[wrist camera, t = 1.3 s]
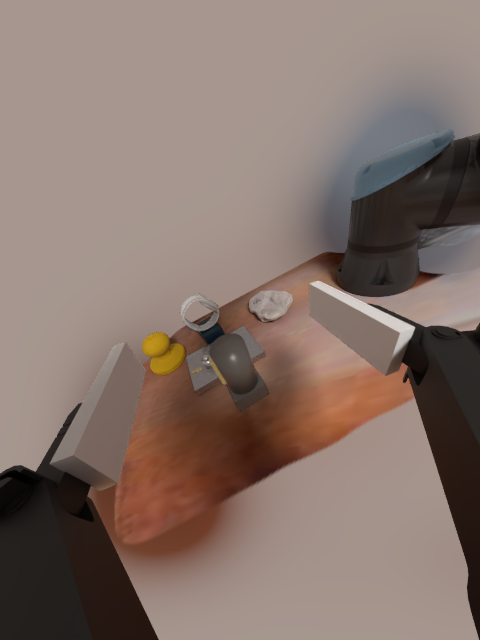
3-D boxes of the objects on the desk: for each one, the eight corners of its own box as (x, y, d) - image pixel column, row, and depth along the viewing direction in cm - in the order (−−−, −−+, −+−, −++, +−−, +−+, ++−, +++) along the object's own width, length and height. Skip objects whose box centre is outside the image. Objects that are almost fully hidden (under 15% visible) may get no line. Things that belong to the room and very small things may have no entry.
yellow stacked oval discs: (145, 372, 40) (167, 344, 45) (172, 378, 37) (192, 347, 42) (122, 351, 36) (149, 323, 41) (151, 355, 32) (176, 324, 37)
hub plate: (245, 330, 41) (241, 318, 39) (265, 356, 34) (261, 343, 32) (188, 361, 39) (180, 350, 37) (198, 395, 32) (189, 384, 30)
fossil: (273, 323, 36) (239, 295, 40) (271, 337, 42) (241, 311, 46) (301, 298, 39) (266, 274, 43) (295, 313, 44) (265, 291, 48)
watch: (232, 331, 42) (215, 292, 36) (202, 351, 40) (178, 313, 33) (221, 321, 46) (204, 284, 40) (193, 339, 44) (170, 303, 37)
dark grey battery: (253, 370, 33) (236, 326, 26) (269, 393, 29) (253, 349, 22) (227, 386, 32) (201, 345, 25) (238, 412, 28) (212, 372, 21)
